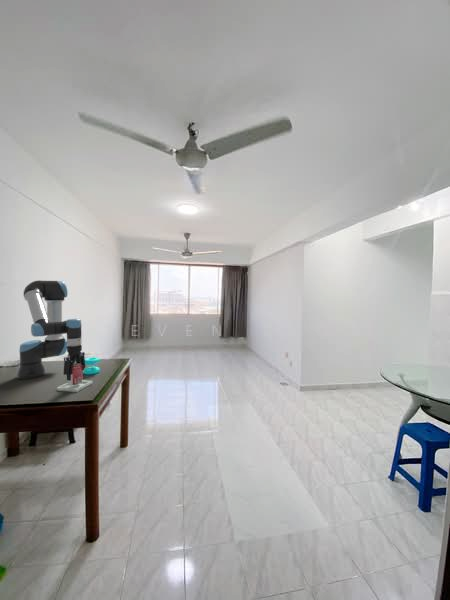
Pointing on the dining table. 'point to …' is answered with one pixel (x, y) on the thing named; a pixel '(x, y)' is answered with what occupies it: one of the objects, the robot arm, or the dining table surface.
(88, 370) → the donuts
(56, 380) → the dining table surface
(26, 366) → the robot arm
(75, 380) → the soda can
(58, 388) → the dish
